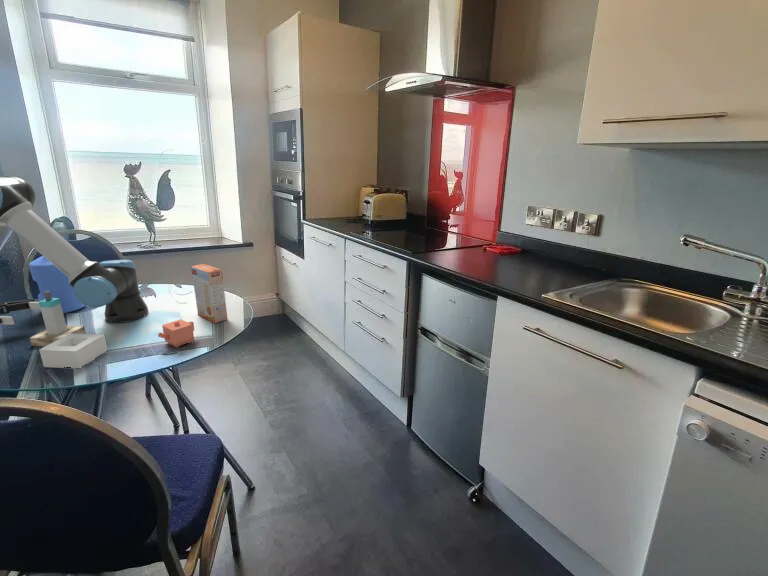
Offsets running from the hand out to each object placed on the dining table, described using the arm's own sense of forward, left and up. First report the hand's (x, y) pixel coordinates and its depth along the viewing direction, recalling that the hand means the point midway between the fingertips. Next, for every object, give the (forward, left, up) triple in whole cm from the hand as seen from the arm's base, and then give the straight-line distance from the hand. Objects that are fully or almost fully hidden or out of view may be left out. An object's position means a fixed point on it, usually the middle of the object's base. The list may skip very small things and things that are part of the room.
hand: (30, 313), depth 147 cm
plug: (-6, +5, -10) cm, 13 cm away
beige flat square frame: (-6, +5, -10) cm, 13 cm away
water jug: (-7, -32, -10) cm, 34 cm away
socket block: (-11, +26, -10) cm, 30 cm away
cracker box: (-56, +15, -10) cm, 59 cm away
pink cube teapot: (-40, +33, -10) cm, 53 cm away
